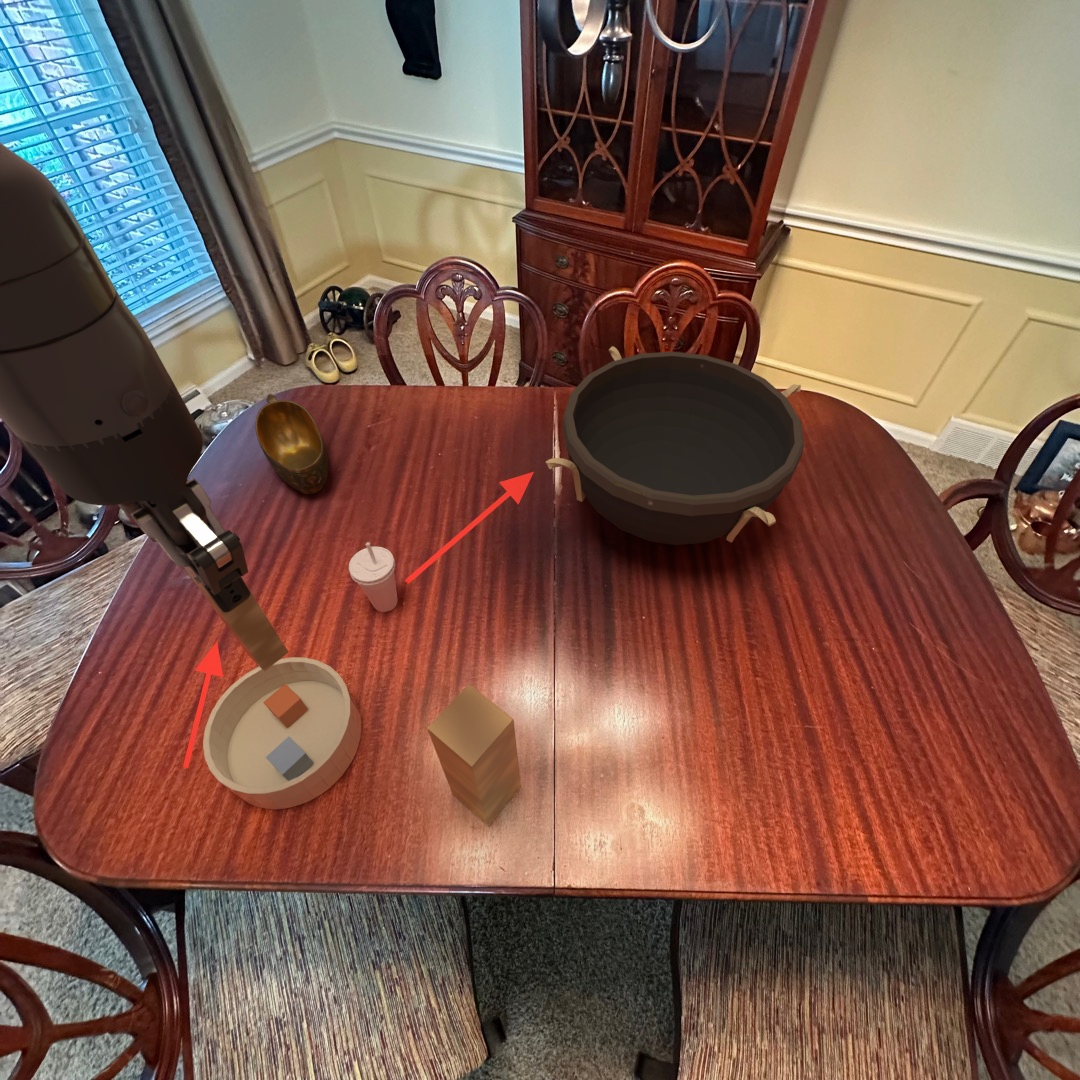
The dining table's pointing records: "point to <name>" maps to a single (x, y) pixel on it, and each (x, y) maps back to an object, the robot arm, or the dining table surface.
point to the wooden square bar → (250, 629)
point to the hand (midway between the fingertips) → (225, 591)
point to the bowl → (680, 445)
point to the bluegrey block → (289, 759)
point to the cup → (292, 444)
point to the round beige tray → (282, 733)
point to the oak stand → (477, 753)
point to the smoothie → (375, 576)
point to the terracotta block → (286, 705)
